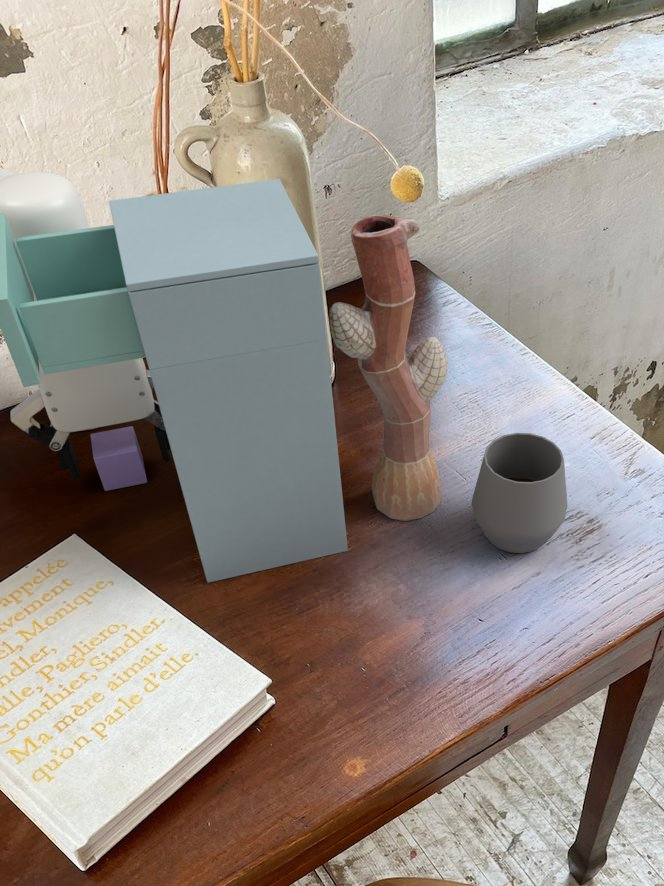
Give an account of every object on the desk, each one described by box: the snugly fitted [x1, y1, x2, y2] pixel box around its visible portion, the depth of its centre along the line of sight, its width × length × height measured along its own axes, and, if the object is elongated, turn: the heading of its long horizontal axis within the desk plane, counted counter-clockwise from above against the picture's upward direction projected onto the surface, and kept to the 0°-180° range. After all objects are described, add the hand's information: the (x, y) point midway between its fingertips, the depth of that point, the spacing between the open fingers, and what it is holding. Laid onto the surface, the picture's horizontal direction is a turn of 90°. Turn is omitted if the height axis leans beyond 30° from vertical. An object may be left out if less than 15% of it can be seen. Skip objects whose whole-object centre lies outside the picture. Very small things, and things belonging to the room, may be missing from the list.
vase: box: [328, 214, 448, 522], centre depth 85 cm, size 10×7×30 cm
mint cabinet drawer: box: [0, 212, 146, 388], centre depth 70 cm, size 19×14×7 cm
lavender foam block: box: [90, 425, 148, 492], centre depth 96 cm, size 4×4×4 cm
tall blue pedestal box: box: [108, 178, 349, 584], centre depth 82 cm, size 14×14×31 cm
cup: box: [471, 432, 568, 554], centre depth 89 cm, size 10×9×10 cm
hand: (121, 462), depth 97 cm, fingers open, 9 cm apart
